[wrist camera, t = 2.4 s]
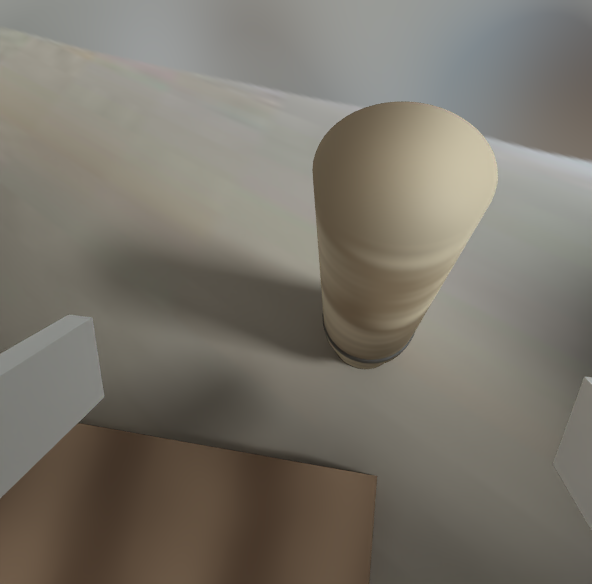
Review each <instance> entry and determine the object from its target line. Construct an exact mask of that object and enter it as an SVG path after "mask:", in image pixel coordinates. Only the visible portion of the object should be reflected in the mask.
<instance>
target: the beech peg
mask: <svg viewBox="0 0 592 584" xmlns="http://www.w3.org/2000/svg"><path fill="white" fill-rule="evenodd" d="M313 183H314V196H315V210H316V223H317V236H318V249H319V263H320V276H321V289H322V302H323V326H324V330H325V333H326V336H327V339H328V341H329V343H330V344H331V346H332V347H333V349H334V350H335V351H336V353H337V354H338V356H339V357H340V358H341V359H342V360H343V361H344V362H346V363H347V364H349V365H351V366H353V367H356V368H360V369H371V368H376V367H378V366H380V365H382V364H384V363H386V362H389V361H391V360H392V359H394V358H395V357H397V356H398V355H399V354H400V353H401V352H402V351H403V350H404V349H405V348H406V347H407V346H408V344H409V343H410V341H411V339H412V338H413V335H414V333H415V330H416V329H417V327H418V325H419V324H420V322H421V320H422V318H423V317H424V315H425V313H426V312H427V310H428V308H429V307H430V305H431V303H432V301H433V300H434V298H435V296H436V295H437V293H438V291H439V290H440V288H441V286H442V285H443V283H444V281H445V279H446V278H447V276H448V274H449V273H450V271H451V269H452V268H453V266H454V264H455V263H456V261H457V259H458V257H459V256H460V254H461V252H462V251H463V249H464V247H465V246H466V244H467V242H468V240H469V239H470V237H471V235H472V234H473V232H474V230H475V229H476V227H477V225H478V224H479V222H480V220H481V218H482V217H483V215H484V213H485V212H486V210H487V208H488V207H489V205H490V203H491V202H492V199H493V197H494V194H495V192H496V187H497V183H498V169H497V163H496V159H495V156H494V153H493V151H492V149H491V147H490V145H489V144H488V142H487V141H486V139H485V138H484V137H483V135H481V133H480V132H479V131H478V130H477V129H476V128H475V127H473V126H472V125H471V124H470V123H469V122H467V121H466V120H464V119H463V118H461V117H460V116H458V115H456V114H454V113H452V112H450V111H448V110H445V109H442V108H440V107H436V106H433V105H428V104H424V103H417V102H388V103H381V104H376V105H373V106H369V107H366V108H363V109H361V110H358V111H356V112H354V113H352V114H350V115H348V116H346V117H345V118H343V119H342V120H341V121H339V122H338V123H337V124H336V125H334V126H333V127H332V128H331V129H330V130H329V131H328V133H327V134H326V135H325V136H324V138H323V139H322V141H321V142H320V144H319V146H318V149H317V151H316V154H315V157H314V161H313Z"/></svg>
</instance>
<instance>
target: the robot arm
mask: <svg viewBox="0 0 592 584" xmlns="http://www.w3.org/2000/svg"><path fill="white" fill-rule="evenodd" d="M103 398H104V390H103V384H102V377H101V370H100V364H99V357H98V350H97V344H96V337H95V331H94V324H93V317H85V316H77V315H69V314H68V315H67V316H65V317H63V318H62V319H60V320H58V321H56V322H55V323H53V324H51V325H49V326H48V327H46V328H44V329H42V330H41V331H39V332H37V333H35V334H34V335H32V336H30V337H28V338H27V339H25V340H23V341H21V342H20V343H18V344H16V345H15V346H13V347H11V348H9V349H8V350H6V351H4V352H2V353H1V354H0V498H1V497H2V496H3V495H4V494H5V493H6V492H7V491H8V490H9V489H10V488H11V487H12V486H14V485H15V484H16V483H17V482H18V481H19V480H20V479H21V478H22V477H23V476H24V475H25V474H26V473H27V472H28V471H29V470H30V469H31V468H32V467H33V466H34V465H35V464H36V463H37V462H38V461H39V460H40V459H41V458H42V457H43V456H44V455H45V454H46V453H48V452H49V451H50V450H51V449H52V448H53V447H54V446H55V445H56V444H57V443H58V442H59V441H60V440H61V439H62V438H63V437H64V436H65V435H66V434H67V433H68V432H69V431H70V430H71V429H72V428H73V427H74V426H75V425H76V424H77V423H78V422H79V421H80V420H82V419H83V418H84V417H85V416H86V415H87V414H88V413H89V412H90V411H91V410H92V409H93V408H94V407H95V406H96V405H97V404H98V403H99V402H100V401H101V400H102V399H103ZM553 466H554V467H555V469H556V471H557V472H558V474H559V476H560V478H561V479H562V481H563V483H564V484H565V486H566V488H567V490H568V491H569V493H570V495H571V496H572V498H573V500H574V501H575V503H576V505H577V507H578V508H579V510H580V512H581V513H582V515H583V517H584V519H585V520H586V522H587V524H588V525H589V527H590V529H591V531H592V377H584V378H583V381H582V384H581V386H580V389H579V392H578V395H577V398H576V400H575V403H574V406H573V409H572V412H571V414H570V417H569V420H568V423H567V425H566V428H565V431H564V434H563V437H562V439H561V442H560V445H559V448H558V450H557V453H556V456H555V459H554V462H553Z"/></svg>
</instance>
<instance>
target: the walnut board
mask: <svg viewBox="0 0 592 584" xmlns="http://www.w3.org/2000/svg"><path fill="white" fill-rule="evenodd" d="M376 484H377V476H374V475H369V474H363V473H357V472H352V471H346V470H341V469H335V468H329V467H324V466H318V465H312V464H307V463H301V462H295V461H290V460H284V459H279V458H273V457H267V456H262V455H256V454H250V453H245V452H239V451H233V450H228V449H222V448H217V447H211V446H205V445H200V444H194V443H188V442H183V441H177V440H171V439H166V438H160V437H155V436H149V435H143V434H138V433H132V432H126V431H121V430H115V429H109V428H104V427H98V426H93V425H87V424H81V423H77V424H76V425H75V426H74V427H73V428H72V429H71V430H70V431H69V432H68V433H67V434H66V435H65V436H64V437H63V438H62V439H61V440H60V441H59V442H58V443H57V444H56V445H55V446H54V447H53V448H52V449H51V450H50V451H49V452H48V453H46V454H45V455H44V456H43V457H42V458H41V459H40V460H39V461H38V462H37V463H36V464H35V465H34V466H33V467H32V468H31V469H30V470H29V471H28V472H27V473H26V474H25V475H24V476H23V477H22V478H21V479H20V480H19V481H18V482H17V483H16V484H15V485H14V486H12V487H11V488H10V489H9V490H8V491H7V492H6V493H5V494H4V495H3V496H2V497H1V498H0V584H369V578H370V565H371V551H372V538H373V524H374V511H375V498H376Z"/></svg>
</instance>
